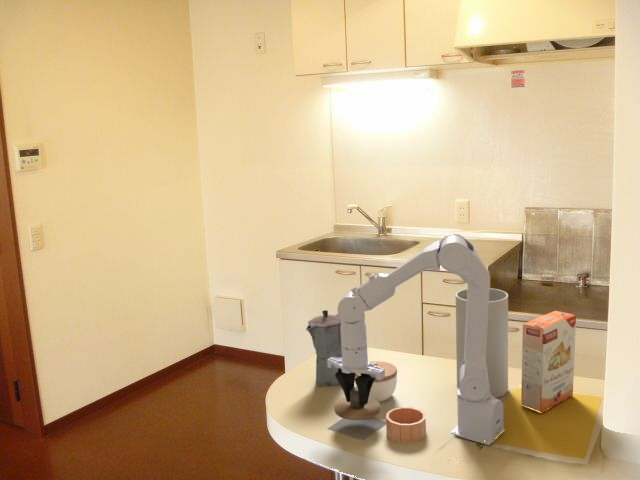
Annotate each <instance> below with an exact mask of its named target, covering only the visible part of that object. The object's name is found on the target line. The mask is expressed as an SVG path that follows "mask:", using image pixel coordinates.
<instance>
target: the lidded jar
mask: <svg viewBox="0 0 640 480" xmlns="http://www.w3.org/2000/svg"><path fill="white" fill-rule="evenodd" d="M368 362H369V363H371V364H373V365H375V366H377V367H379V368H382V369H385V377H384V378H383V379H381V380H377V379H375V380H374V382H373V385H372V387H371V390H370V394H369V397H370V398H373V399H375V400H377V401H378V402H379V403H380V402H381V403H382V402H384V401H385V402H386V401H387V400H388V399H390V398H391V397H392V396H393V394H394V393H395V391H396V387H397V382H398V376H397V375H398V368H397V366H395V364H393V363H390V362H385V361H379V360H378V361H376V360H375V361H368ZM359 376H361V374H359V373H356V374H355V378H357V377H359ZM354 386H355V387H357V384H356V382H354Z"/></svg>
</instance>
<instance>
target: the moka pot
mask: <svg viewBox="0 0 640 480" xmlns="http://www.w3.org/2000/svg"><path fill="white" fill-rule="evenodd" d="M340 319H341V318H340V317H339V315H338V313H337V314H329V311H328V310H322V315H319V316H318V315H317V316H314V317H313V318H312V319H310V320H308V321H307V322H308V325H307V327H306V329H305V331H307V332H308V333H309V335H310V336H311V340H312V345H313V347H314V349H315V354H316V357H315V358H316V361H315V362H316V363H315V367H316V368H315V382H316V384H317V385H318V386H320V387H325V386H326V387H339V386H341V385H340V383H339V381H338V380H337V378H336V377H335V373H337V372H338V368H334V367H332V368H329V367H328V365H327V359H329V358H331V357H336V358H342V347H341V330H340V327H341V322H340Z"/></svg>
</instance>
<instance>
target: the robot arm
mask: <svg viewBox="0 0 640 480" xmlns="http://www.w3.org/2000/svg"><path fill="white" fill-rule="evenodd" d="M441 268H442V269H443V270H445V271H447V272H449V273H452V274H454V275H456V276H458V277H459V278H460V279H461V280H463V282H465V283H466V284H467V288H466V289H467V310H466V332H465V350H464V359H463V362H462V363H461V365H460V367H459V375H460V384H459V389H458V388H457V392H456V394H457V396H456V397H457V399H456V400H457V401H456V402H457V404H456V405H457V425H456V426H455V427H454V428H453V429H452V430H450V431H449V432H450V434H452V435H453V436H455V437H459V438H462V439H466V440H469V441H473V442H476V443H479V442H483V443H485V444H484V445H486V446H491V445H492V444H493V443H494V442H495V441H496V440H495V438H496V437H497V436H498V435H499V434H500V433H501V432H502V431H503V430H504V429H505V428H504V424H505V423H504V421H505V420H504V413H505V412H504V403H503V400H502V399H499V398H495V397H493V396H492V395H491V391H490V384H489V381H488V369H487V366H486V344H487V326H488V307H489V288H491V287H490V286H491V277H490V276H491V275H490V271H489V269H488V267H487V266H486V264H485V263H484V261H483V260H482V258H481V257H480V255H479V253H478V251H477V250H476V248H475V247H474V245H473V243H471V241H469V240H468V239H466V238H465V236H463V235H460V234H457V233H450V234H448V235H446V236H444V237H443V238H442V239H441V241H440V239H438V240H436V241H434V242H433V243H431V244H429V245H428V246H427V247H424V248H422V250H420V251H419V252H418V253H416V254H415V255H413V256H412V257H411V258H409V259H408V260H406V261H405V262H404V263H402V264H401V265H399V266H398V267H396V268H395V269H393V270H392V271H391V272H389V273H382V272H379V273H376V274H375V273H372V274H370V275H369V276H368V280H366V281H365V282H363V283H361V285H359V286H353V287H352V288H351V290H349V291H347V292H345V294H343V295H342V297H341V298H340V301H339V302H338V305H337V314H338V315H339V317H340V318H341V319H340V322H341V327H340V330H341V347H342V358H336V357H331V358H329V359H327V365H328V367H329V368H332V367H334V368H338V372H337V373H335V377H336V378H337V380H338V381H339V383H340V385H339V386H341V388H342V391H343V395H344V396H345V398H346V400H347V402H350V388H352V387H355V382H356V384H357V387H358V392H359V402H360V406H364V405H366V404H367V403H368V398H369V394H370V390H371V387H372V385H373V382H374V380H375V379H377V380H381V379H383V378H384V377H385V369H382V368H379V367H377V366H375V365H373V364H371V363H369V362H370V361H369V360H368V358H369V357H368V338H367V335H368V334H367V324H366V318H365V317H366V313H365V312H367V311H368V312H369V311H371V310H373V309H375V308H376V307H377V306H379V305H382V304H383V303H384V302H386V301H387V300H388V299H390V298H392V297H393V296H395V294H396V293H395V292H396V288H397V287H399V286H400V285H402V284H403V283H405V282H406V281H408V280H410V279H412V278H413V277H416V276H417V275H419V274H420V273H422V272H424V271H426V270H430V271H441ZM356 373H359V374H361V376H359V377H357V378H355V374H356ZM484 440H485V441H486V442H484ZM494 440H495V441H494ZM493 441H494V442H493ZM492 442H493V443H492ZM483 443H482V444H483ZM491 443H492V444H491ZM490 444H491V445H490Z"/></svg>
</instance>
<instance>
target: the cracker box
mask: <svg viewBox="0 0 640 480" xmlns="http://www.w3.org/2000/svg"><path fill="white" fill-rule="evenodd" d="M576 322H577V315H575V314H572V313H569V312H565V311H563V312H562V311H559V310H554V311H552V312H548V313H547V314H543V315H541V316H539V317H535V318H534V319H531V320H529V321H527V322H524V323H522V344H521V345H522V349H521V350H522V352H521V355H522V356H521V358H522V359H521V394H520V395H521V398H520V399H521V401H520V402H521V404H522V405H524V406H527V407H530V408H533V409H535V410H538V411H540V412H543V411H545V410H547V409H548V408H550V407H552V406H554V405H556V404H557V405H558V403H559V402H561V401H563V400H564V401H566V400H568V399H569V397H570V398H571V397H573V395H574V375H575V373H574V371H575V349H576V327H577V323H576ZM567 398H568V399H567ZM565 399H566V400H565ZM564 401H563V402H564ZM561 403H562V402H561ZM521 404H520V405H521ZM559 404H560V403H559ZM557 405H556V406H557ZM554 407H555V406H554ZM552 408H553V407H552ZM550 409H551V408H550ZM548 410H549V409H548ZM548 410H547V411H548ZM545 412H546V411H545ZM543 413H544V412H543Z"/></svg>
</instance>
